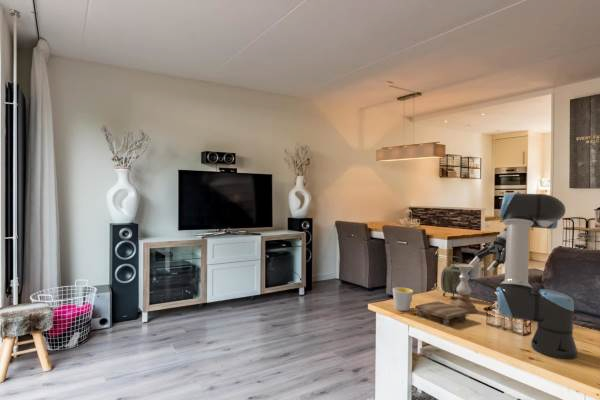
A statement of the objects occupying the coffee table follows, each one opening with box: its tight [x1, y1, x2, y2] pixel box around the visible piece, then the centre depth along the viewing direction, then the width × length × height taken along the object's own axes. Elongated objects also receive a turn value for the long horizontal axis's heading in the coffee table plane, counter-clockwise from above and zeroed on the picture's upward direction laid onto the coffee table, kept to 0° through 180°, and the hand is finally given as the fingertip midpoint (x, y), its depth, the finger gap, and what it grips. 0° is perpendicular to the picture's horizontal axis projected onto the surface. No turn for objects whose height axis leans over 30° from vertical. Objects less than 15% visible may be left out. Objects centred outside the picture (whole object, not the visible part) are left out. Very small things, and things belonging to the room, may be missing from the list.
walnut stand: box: [414, 300, 471, 327], centre depth 185 cm, size 18×18×5 cm
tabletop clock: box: [440, 255, 462, 300], centre depth 223 cm, size 14×9×25 cm, turn 66°
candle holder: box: [448, 263, 478, 314], centre depth 201 cm, size 11×11×24 cm
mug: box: [392, 286, 414, 312], centre depth 198 cm, size 14×10×10 cm
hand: (479, 268), depth 203 cm, fingers open, 13 cm apart
